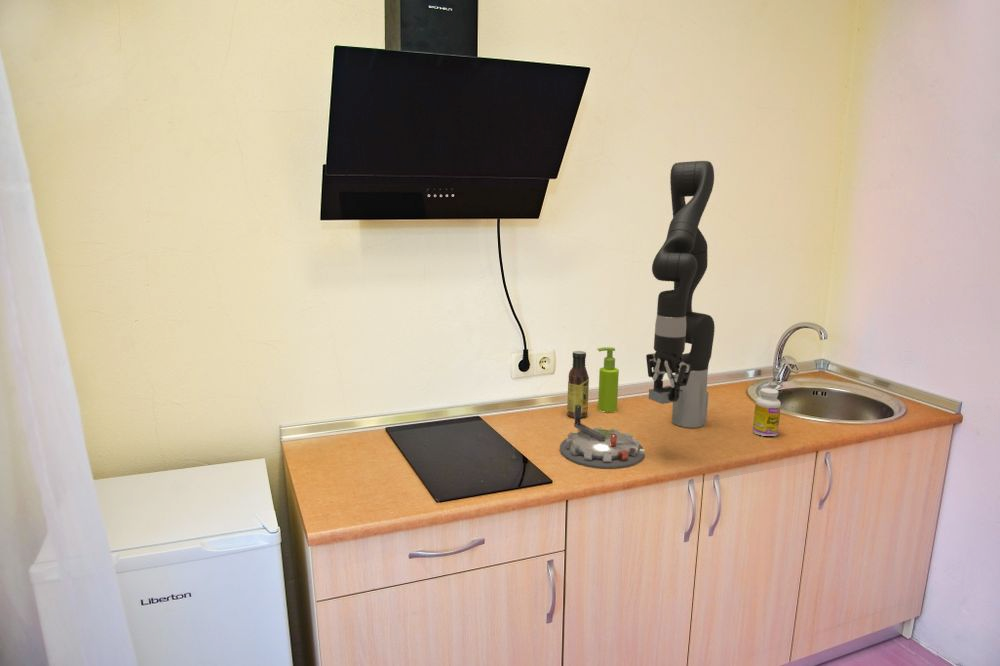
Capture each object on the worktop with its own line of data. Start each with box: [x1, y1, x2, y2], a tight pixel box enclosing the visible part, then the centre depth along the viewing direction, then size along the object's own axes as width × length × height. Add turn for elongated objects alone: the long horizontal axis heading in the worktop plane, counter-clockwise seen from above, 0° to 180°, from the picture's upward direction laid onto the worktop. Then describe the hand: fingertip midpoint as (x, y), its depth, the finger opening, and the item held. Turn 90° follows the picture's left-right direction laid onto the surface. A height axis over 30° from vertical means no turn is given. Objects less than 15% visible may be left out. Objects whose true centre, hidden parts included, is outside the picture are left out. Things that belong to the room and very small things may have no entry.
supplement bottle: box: [752, 387, 782, 437], centre depth 183 cm, size 7×7×13 cm
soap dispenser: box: [596, 346, 620, 413], centre depth 201 cm, size 6×7×20 cm
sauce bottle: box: [566, 350, 590, 419], centre depth 196 cm, size 6×6×20 cm
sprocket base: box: [559, 438, 646, 470], centre depth 171 cm, size 22×22×2 cm
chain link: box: [648, 385, 683, 405], centre depth 165 cm, size 7×5×2 cm
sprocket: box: [565, 405, 640, 462], centre depth 171 cm, size 19×21×8 cm
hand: (665, 397), depth 165 cm, fingers closed on chain link, 5 cm apart
